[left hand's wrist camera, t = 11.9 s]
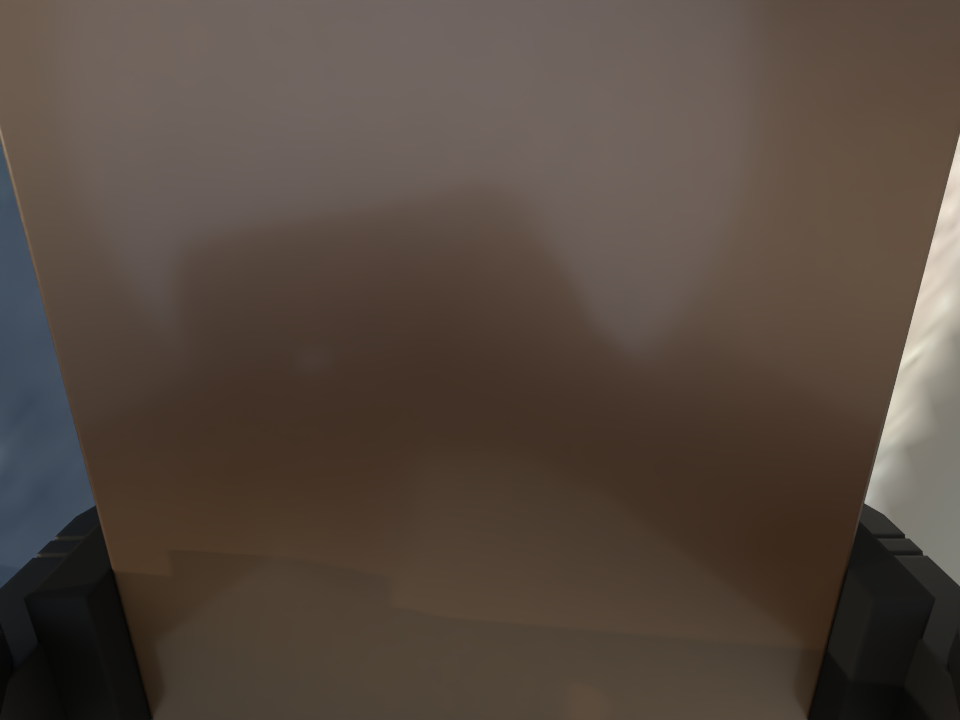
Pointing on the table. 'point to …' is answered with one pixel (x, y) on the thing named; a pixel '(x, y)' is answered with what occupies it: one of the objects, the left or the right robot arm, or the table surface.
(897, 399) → the table surface
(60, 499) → the table surface
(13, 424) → the table surface
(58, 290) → the thick board
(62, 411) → the table surface
